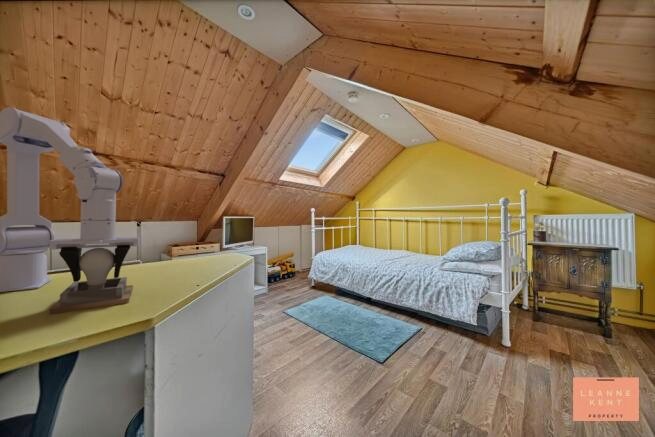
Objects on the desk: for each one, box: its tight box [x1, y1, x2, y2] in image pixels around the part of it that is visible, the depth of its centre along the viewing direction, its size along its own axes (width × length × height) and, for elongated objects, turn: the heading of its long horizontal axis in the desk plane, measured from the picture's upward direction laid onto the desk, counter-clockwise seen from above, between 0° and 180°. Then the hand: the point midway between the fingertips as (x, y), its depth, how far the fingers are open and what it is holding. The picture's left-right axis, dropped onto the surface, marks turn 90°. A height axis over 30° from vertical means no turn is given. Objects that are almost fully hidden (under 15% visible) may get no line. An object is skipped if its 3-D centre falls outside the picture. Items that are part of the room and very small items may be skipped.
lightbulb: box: [79, 247, 115, 290], centre depth 54 cm, size 6×6×11 cm
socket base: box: [48, 276, 134, 315], centre depth 54 cm, size 11×12×4 cm
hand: (97, 278), depth 54 cm, fingers closed on lightbulb, 6 cm apart
